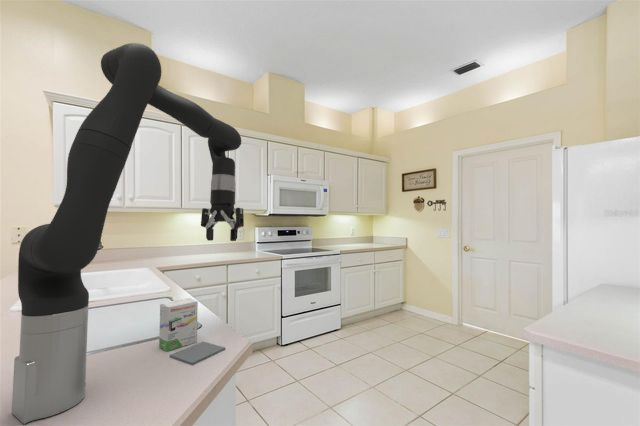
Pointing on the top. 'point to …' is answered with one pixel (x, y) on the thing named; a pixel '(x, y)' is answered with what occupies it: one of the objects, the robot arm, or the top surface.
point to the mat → (197, 352)
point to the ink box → (178, 323)
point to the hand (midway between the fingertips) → (221, 240)
